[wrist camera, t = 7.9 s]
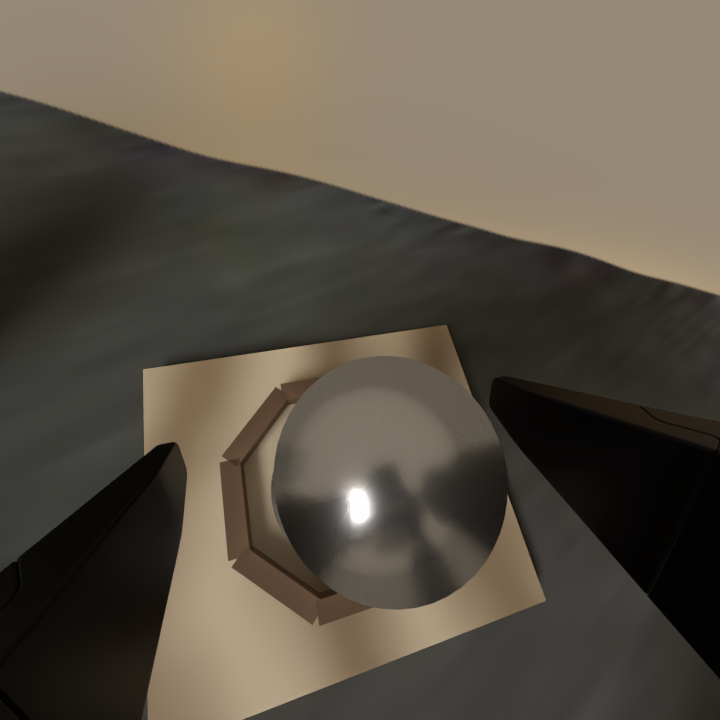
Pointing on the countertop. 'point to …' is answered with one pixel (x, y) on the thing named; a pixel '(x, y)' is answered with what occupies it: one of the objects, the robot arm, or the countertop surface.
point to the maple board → (283, 544)
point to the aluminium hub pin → (390, 482)
